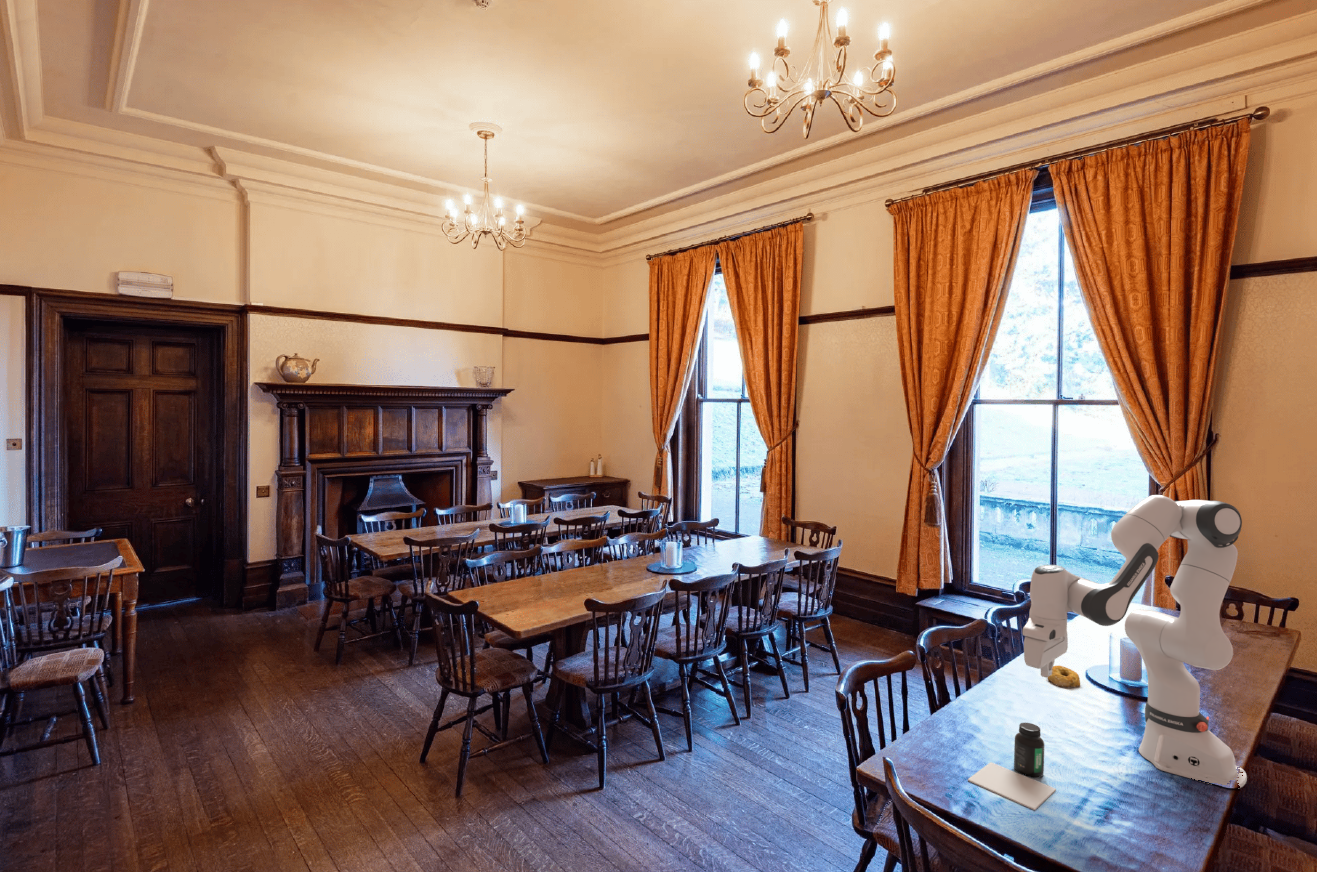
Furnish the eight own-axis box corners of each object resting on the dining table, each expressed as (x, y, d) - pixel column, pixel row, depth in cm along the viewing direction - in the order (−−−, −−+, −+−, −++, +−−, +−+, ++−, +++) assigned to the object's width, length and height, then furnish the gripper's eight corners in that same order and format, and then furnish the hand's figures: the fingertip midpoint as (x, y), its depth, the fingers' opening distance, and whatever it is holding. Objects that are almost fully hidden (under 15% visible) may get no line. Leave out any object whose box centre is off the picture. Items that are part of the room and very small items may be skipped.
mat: (1056, 790, 164) (1056, 788, 164) (1034, 810, 156) (1034, 808, 156) (990, 763, 177) (990, 761, 177) (967, 780, 169) (967, 779, 169)
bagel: (1043, 682, 229) (1043, 669, 229) (1051, 674, 237) (1052, 661, 237) (1075, 692, 222) (1076, 678, 222) (1083, 682, 230) (1084, 669, 230)
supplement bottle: (1045, 780, 169) (1047, 735, 168) (1015, 775, 171) (1017, 730, 171) (1041, 767, 175) (1042, 723, 175) (1012, 762, 178) (1013, 718, 177)
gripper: (1050, 615, 187) (1048, 662, 188) (1019, 630, 174) (1018, 681, 175) (1075, 620, 182) (1073, 669, 183) (1045, 636, 169) (1044, 689, 170)
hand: (1046, 675), depth 179 cm, fingers closed
